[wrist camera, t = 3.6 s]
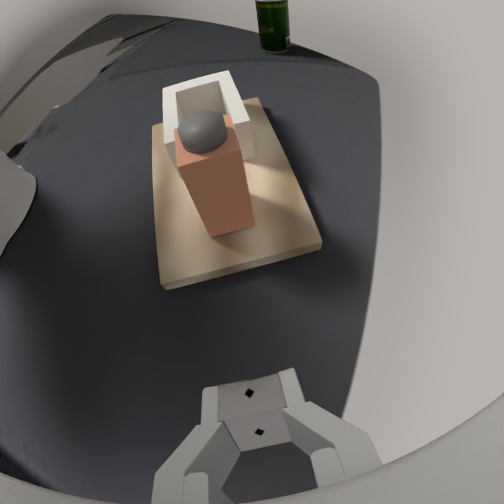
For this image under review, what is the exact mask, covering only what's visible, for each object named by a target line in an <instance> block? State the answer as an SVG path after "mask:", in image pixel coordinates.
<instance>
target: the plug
mask: <svg viewBox="0 0 504 504" xmlns="http://www.w3.org/2000/svg"><path fill="white" fill-rule="evenodd" d="M174 137H175V149H176V159H177V168H178V170H179V172H180V174H181V176H182V179H183V181H184V183H185V185H186V187H187V190H188V192H189V194H190V196H191V198H192V200H193V202H194V205H195V207H196V209H197V211H198V213H199V215H200V217H201V219H202V222H203V224H204V226H205V228H206V230H207V232H208V234H209V236H210V238H211V237H214V236H218V235H222V234H225V233H229V232H233V231H237V230H240V229H244V228H248V227H252V226H255V221H254V215H253V210H252V205H251V199H250V194H249V189H248V183H247V178H246V173H245V168H244V163H243V157H242V152H241V148H240V145H239V142H238V139H237V136H236V133H235V130H234V127H233V124H232V121H231V118H230V115H229V114H226V115H221V114H220V113H219V112H216V111H211V110H205V111H199V112H196V113H193V114H191V115H189V116H187V117H186V118H185V119H183V120H182V121H181V123H180V124H179V126H178V128H176V129H174Z"/></svg>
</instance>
